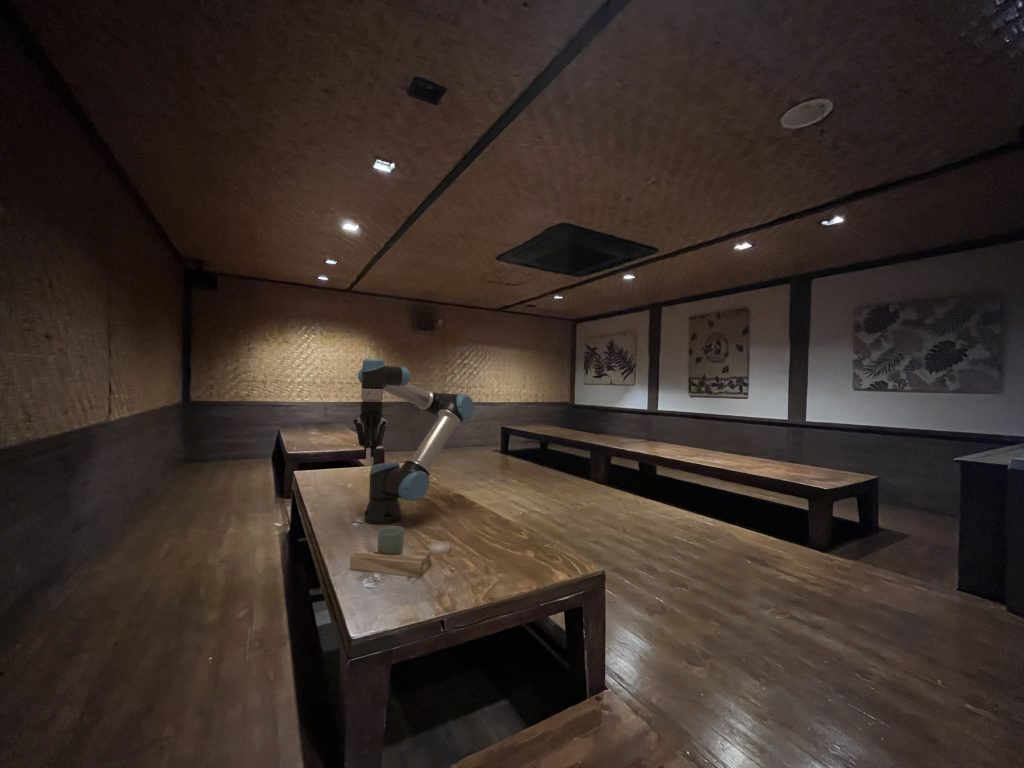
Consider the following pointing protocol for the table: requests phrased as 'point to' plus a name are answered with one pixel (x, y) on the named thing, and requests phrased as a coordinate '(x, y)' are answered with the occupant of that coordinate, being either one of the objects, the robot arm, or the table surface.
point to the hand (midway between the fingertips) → (369, 465)
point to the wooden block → (391, 563)
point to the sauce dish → (439, 547)
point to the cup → (391, 540)
